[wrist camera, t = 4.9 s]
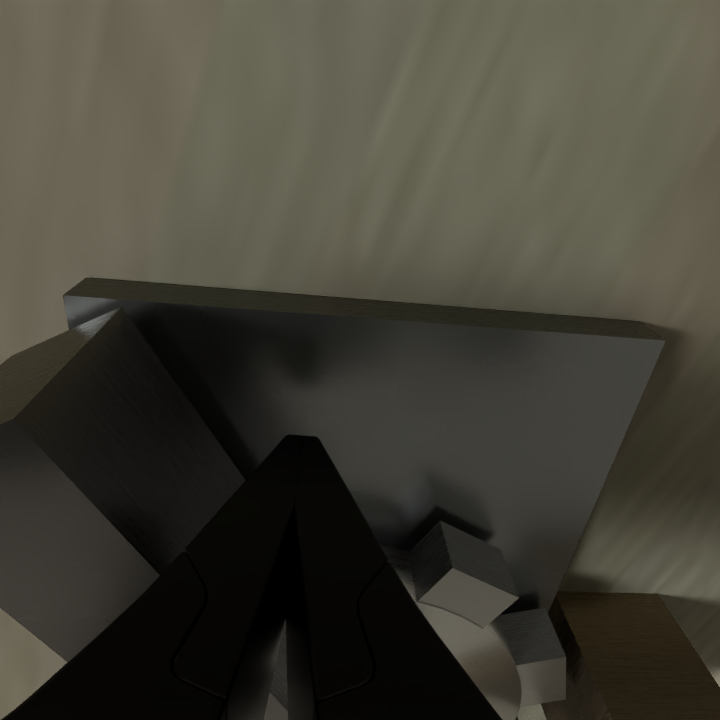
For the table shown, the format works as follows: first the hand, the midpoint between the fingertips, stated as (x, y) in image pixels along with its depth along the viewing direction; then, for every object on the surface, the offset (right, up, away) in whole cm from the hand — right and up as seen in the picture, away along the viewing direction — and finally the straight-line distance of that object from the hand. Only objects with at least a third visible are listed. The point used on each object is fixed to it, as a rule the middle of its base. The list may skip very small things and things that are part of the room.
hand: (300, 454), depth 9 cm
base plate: (0, -7, +7) cm, 9 cm away
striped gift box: (+9, -7, +8) cm, 14 cm away
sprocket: (-1, -5, +4) cm, 7 cm away
